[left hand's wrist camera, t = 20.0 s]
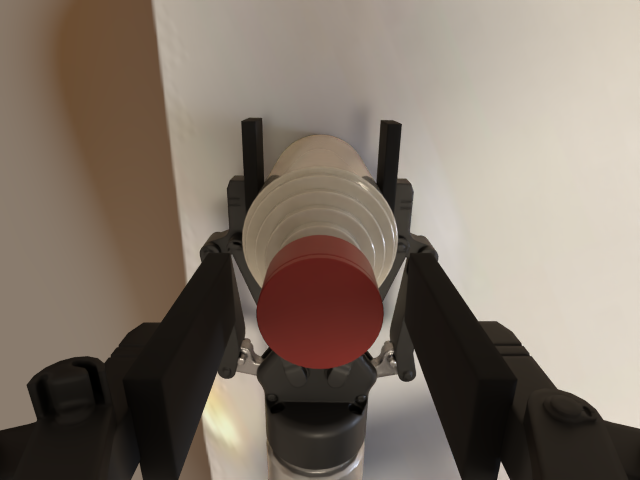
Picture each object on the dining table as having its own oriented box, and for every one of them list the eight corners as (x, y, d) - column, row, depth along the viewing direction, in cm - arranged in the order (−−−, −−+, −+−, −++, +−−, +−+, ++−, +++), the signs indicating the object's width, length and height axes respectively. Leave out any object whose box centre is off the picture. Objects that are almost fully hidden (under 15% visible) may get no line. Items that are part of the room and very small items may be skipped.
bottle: (278, 230, 32) (227, 400, 15) (267, 138, 30) (191, 209, 12) (368, 224, 32) (427, 389, 14) (365, 131, 29) (432, 193, 12)
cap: (306, 211, 14) (304, 232, 12) (397, 274, 14) (409, 304, 13) (244, 296, 15) (231, 329, 13) (331, 350, 16) (333, 388, 14)
